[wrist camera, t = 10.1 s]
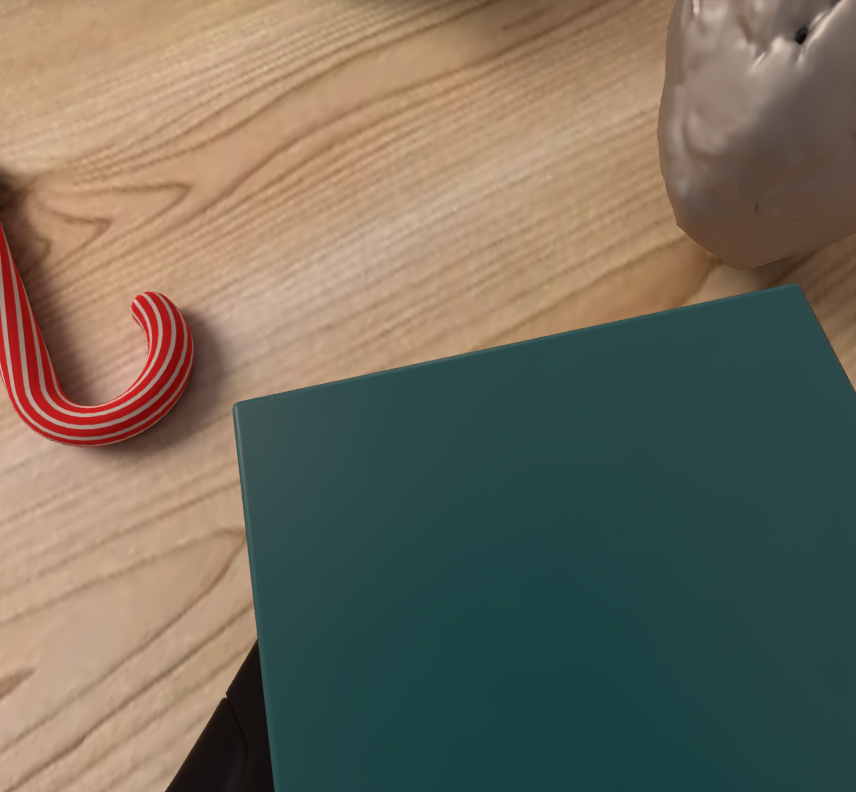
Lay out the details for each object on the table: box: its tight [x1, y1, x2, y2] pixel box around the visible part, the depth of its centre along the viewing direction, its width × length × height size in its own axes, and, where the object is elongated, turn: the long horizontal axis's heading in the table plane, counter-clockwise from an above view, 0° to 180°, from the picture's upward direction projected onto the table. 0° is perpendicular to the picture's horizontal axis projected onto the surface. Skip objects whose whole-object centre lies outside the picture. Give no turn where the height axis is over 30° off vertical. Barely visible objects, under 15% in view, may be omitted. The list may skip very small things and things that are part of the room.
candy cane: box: [0, 223, 194, 447], centre depth 16 cm, size 6×15×2 cm, turn 31°
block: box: [233, 284, 856, 792], centre depth 8 cm, size 4×4×12 cm
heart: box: [585, 0, 856, 282], centre depth 12 cm, size 10×10×12 cm
